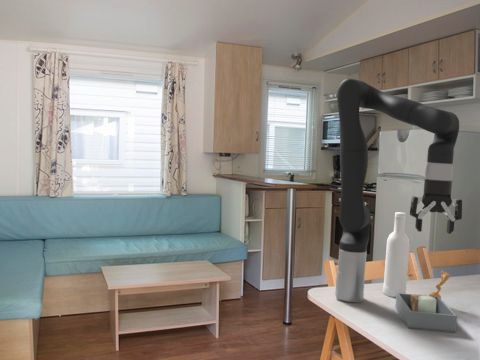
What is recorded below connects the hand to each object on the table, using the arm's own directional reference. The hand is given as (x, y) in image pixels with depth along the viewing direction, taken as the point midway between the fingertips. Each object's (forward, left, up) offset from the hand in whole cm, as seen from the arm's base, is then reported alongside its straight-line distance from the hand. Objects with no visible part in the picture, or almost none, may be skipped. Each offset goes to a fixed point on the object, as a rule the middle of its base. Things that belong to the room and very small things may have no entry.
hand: (433, 232), depth 133 cm
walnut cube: (0, +7, -28) cm, 28 cm away
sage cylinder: (0, 0, -27) cm, 27 cm away
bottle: (-4, +26, -28) cm, 39 cm away
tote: (0, +3, -28) cm, 28 cm away
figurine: (+9, +19, -28) cm, 35 cm away
